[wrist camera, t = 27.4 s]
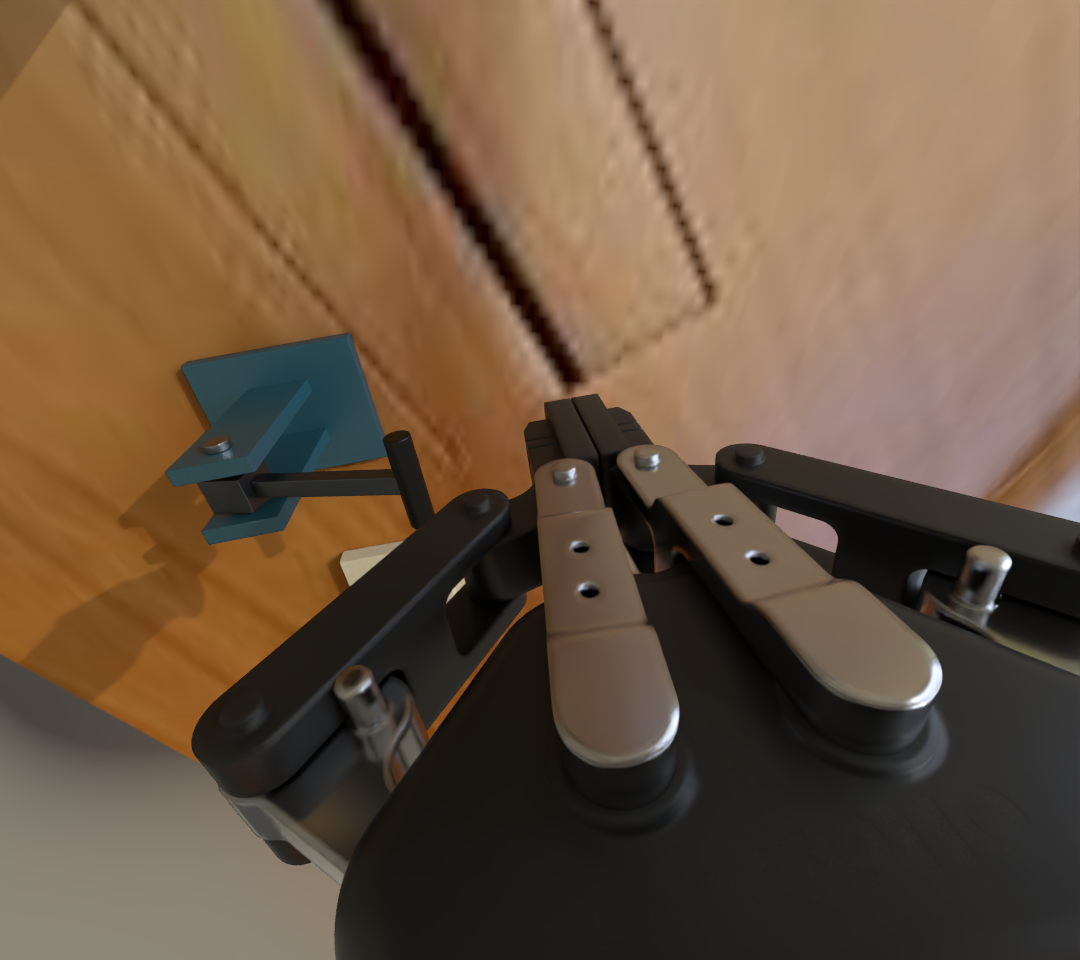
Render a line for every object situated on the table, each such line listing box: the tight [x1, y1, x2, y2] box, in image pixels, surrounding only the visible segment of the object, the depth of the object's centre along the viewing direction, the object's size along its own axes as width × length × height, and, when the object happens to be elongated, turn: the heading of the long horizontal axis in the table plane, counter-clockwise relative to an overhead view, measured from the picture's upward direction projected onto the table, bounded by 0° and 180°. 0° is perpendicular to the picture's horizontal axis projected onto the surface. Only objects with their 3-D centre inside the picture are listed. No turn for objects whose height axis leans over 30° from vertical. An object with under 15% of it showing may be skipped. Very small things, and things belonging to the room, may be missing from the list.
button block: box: [340, 541, 465, 603], centre depth 49 cm, size 12×9×4 cm
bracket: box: [165, 333, 387, 545], centre depth 35 cm, size 12×10×14 cm
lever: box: [197, 430, 435, 529], centre depth 29 cm, size 13×6×2 cm, turn 98°
